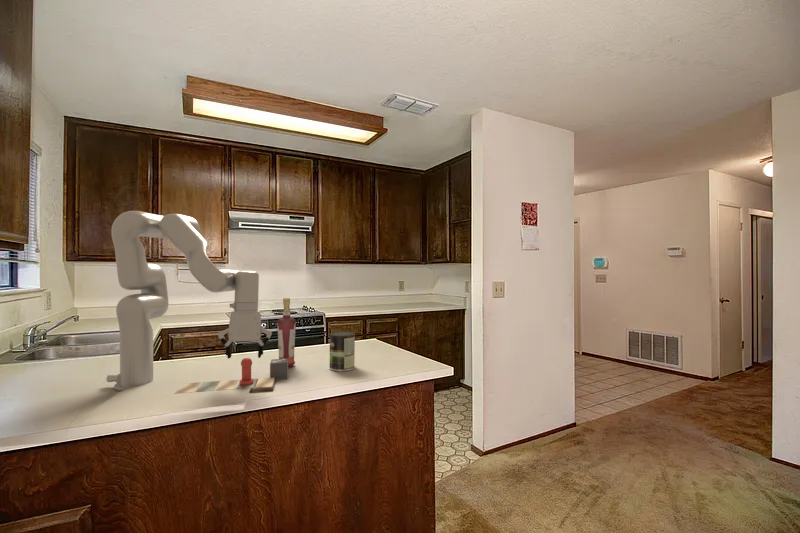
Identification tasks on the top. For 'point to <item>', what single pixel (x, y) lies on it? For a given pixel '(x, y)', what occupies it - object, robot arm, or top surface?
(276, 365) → the die
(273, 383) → the board
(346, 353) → the coffee can
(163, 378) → the top surface
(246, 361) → the pawn
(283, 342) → the liquor
